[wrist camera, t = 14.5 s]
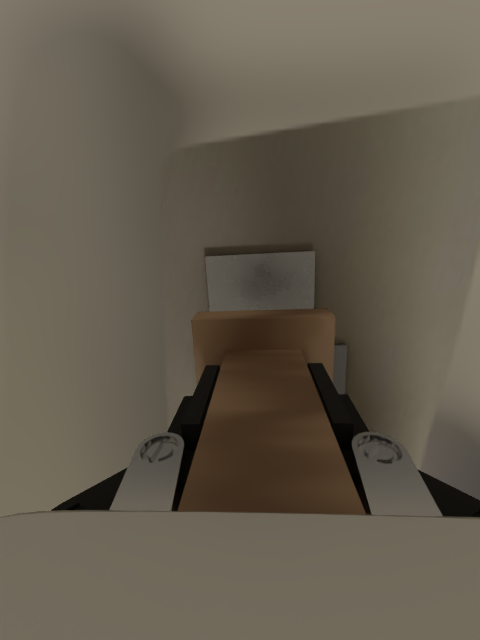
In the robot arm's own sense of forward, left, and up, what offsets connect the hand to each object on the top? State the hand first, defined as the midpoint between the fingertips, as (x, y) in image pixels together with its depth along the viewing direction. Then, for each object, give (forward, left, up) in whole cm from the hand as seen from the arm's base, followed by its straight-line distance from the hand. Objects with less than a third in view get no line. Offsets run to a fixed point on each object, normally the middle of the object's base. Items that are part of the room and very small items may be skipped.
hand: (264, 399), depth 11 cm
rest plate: (0, 0, -22) cm, 22 cm away
